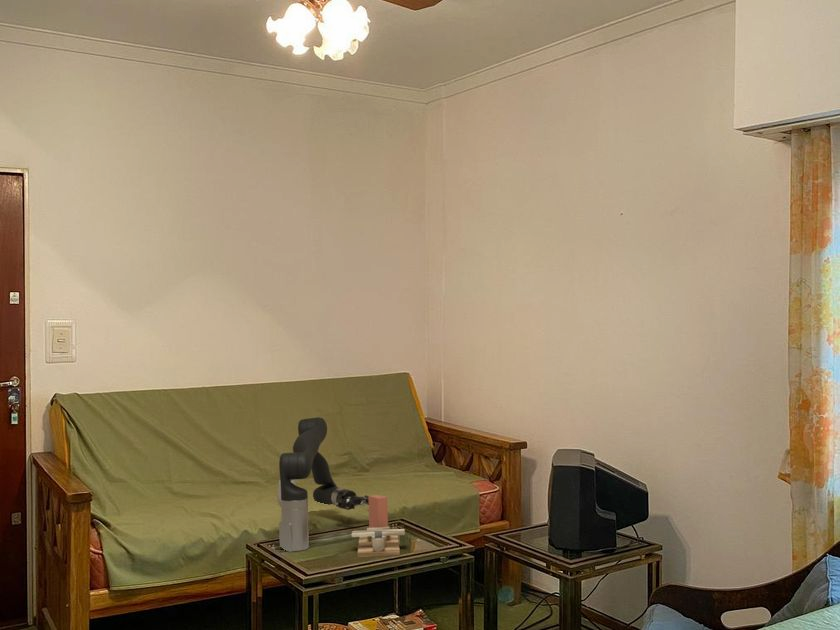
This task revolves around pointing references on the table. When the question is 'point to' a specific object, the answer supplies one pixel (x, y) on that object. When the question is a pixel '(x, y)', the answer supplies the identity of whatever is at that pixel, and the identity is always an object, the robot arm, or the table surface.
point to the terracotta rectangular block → (378, 511)
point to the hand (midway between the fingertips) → (363, 504)
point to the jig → (378, 541)
